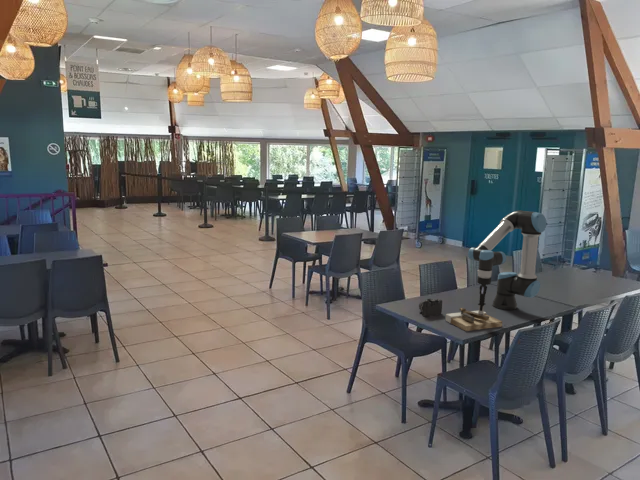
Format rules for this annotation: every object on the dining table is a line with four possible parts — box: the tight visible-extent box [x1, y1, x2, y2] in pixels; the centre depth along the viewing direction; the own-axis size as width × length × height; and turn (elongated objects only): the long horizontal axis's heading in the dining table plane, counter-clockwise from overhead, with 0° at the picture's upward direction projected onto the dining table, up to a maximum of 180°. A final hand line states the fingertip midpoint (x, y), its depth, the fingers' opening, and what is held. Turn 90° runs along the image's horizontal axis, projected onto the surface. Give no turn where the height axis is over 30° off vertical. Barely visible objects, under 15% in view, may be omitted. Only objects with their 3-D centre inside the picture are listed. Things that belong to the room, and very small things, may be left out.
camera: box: [418, 298, 443, 317], centre depth 316 cm, size 14×11×10 cm
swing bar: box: [459, 307, 490, 321], centre depth 299 cm, size 18×4×3 cm, turn 43°
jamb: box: [445, 309, 487, 324], centre depth 306 cm, size 26×5×6 cm, turn 112°
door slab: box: [450, 313, 503, 332], centre depth 298 cm, size 26×14×3 cm, turn 112°
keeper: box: [462, 313, 474, 323], centre depth 295 cm, size 2×8×4 cm, turn 22°
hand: (480, 315), depth 299 cm, fingers closed
